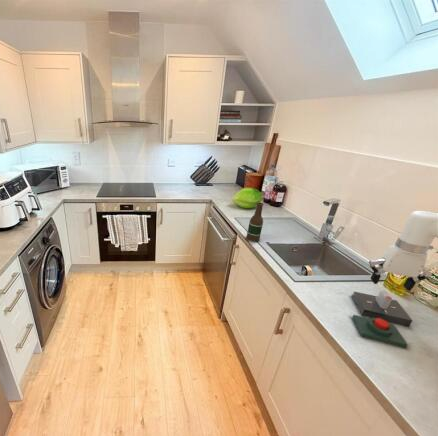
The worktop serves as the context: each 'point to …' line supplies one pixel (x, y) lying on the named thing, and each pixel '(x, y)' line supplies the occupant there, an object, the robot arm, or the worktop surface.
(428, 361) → the worktop surface
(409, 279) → the robot arm
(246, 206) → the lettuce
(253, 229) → the beer bottle
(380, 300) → the hob knob
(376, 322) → the power button
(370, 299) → the panel
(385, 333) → the green device base
